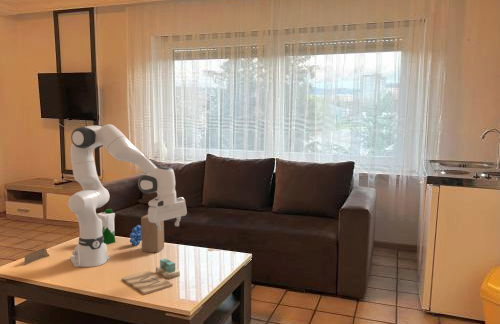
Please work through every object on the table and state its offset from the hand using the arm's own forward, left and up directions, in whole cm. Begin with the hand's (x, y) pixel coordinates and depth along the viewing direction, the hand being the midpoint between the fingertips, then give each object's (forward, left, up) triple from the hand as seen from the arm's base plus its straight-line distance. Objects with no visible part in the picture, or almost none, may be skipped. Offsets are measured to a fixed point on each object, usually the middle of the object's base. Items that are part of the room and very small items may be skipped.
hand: (168, 228), depth 201 cm
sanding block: (0, -1, -23) cm, 23 cm away
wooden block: (-37, +12, -23) cm, 45 cm away
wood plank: (-63, -43, -23) cm, 79 cm away
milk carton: (-68, -2, -23) cm, 72 cm away
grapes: (-52, +9, -23) cm, 58 cm away
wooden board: (+3, -14, -23) cm, 27 cm away
